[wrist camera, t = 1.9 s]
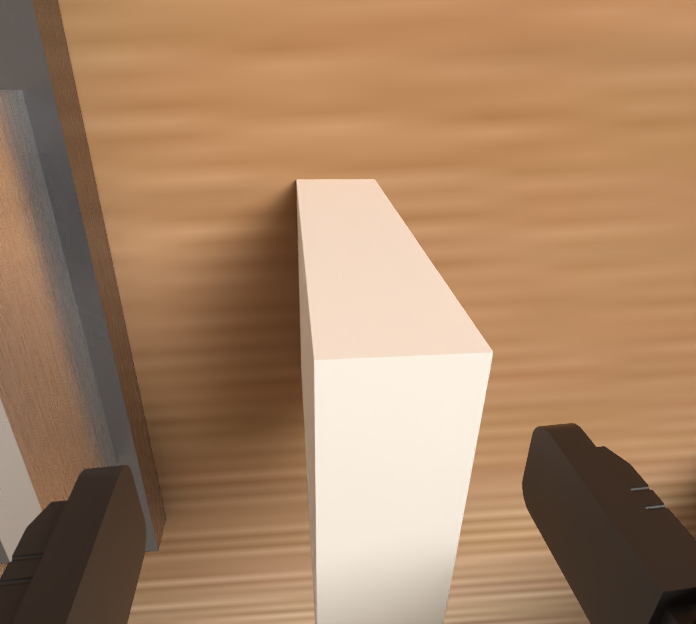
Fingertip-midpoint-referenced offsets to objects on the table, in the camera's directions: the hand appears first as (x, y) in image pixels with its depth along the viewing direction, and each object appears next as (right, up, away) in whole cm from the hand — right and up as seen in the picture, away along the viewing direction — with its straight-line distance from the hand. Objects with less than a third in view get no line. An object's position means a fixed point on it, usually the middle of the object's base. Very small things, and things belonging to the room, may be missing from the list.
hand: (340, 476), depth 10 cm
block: (0, +4, +7) cm, 8 cm away
